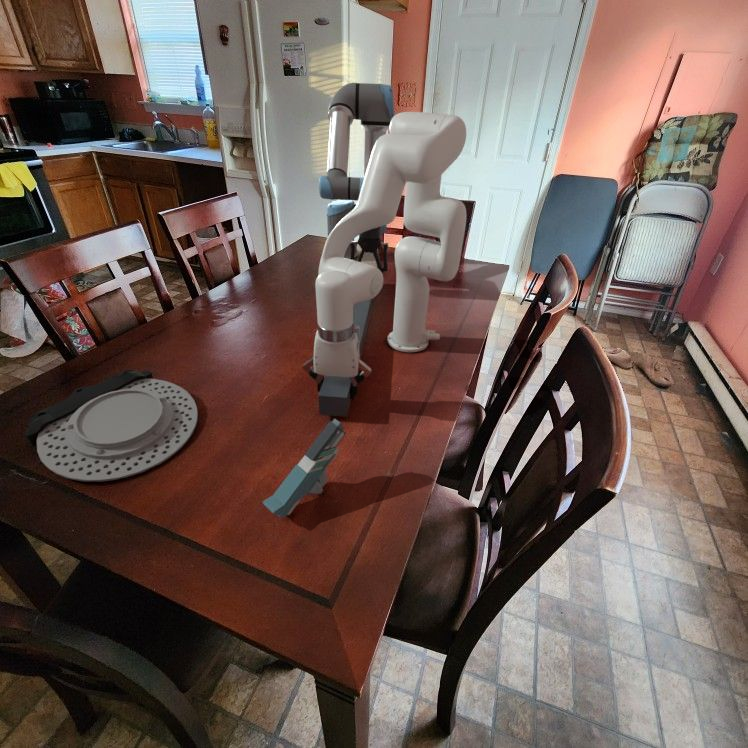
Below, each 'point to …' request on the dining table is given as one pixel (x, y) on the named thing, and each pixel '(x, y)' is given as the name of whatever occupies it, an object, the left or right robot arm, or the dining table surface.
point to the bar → (338, 388)
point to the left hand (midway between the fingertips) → (368, 287)
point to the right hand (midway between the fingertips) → (337, 394)
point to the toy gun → (307, 472)
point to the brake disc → (113, 427)
